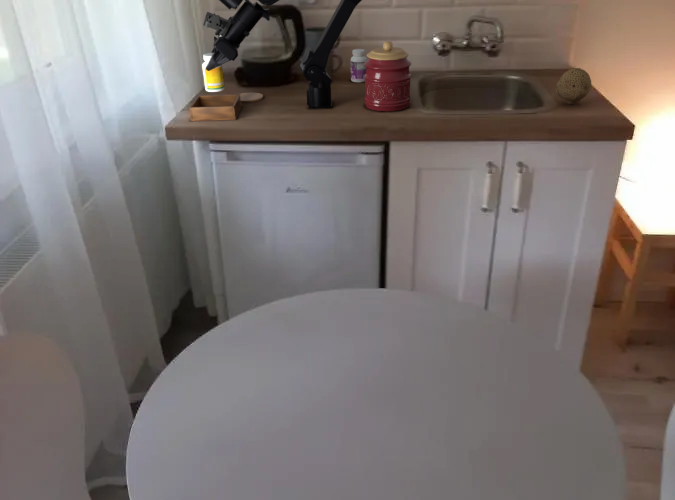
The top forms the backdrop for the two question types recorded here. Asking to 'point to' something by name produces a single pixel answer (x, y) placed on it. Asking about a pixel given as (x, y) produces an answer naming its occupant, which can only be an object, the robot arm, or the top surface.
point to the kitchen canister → (387, 79)
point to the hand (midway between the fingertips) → (207, 67)
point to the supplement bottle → (212, 76)
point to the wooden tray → (215, 107)
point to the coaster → (250, 97)
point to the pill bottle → (358, 65)
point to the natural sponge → (573, 85)
